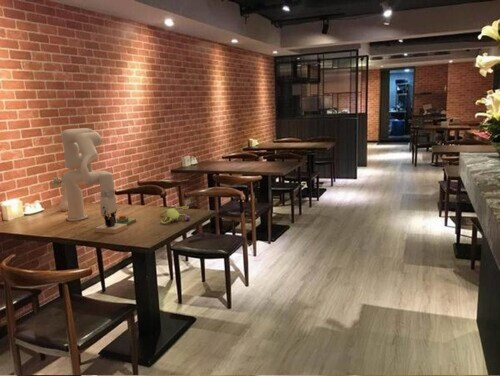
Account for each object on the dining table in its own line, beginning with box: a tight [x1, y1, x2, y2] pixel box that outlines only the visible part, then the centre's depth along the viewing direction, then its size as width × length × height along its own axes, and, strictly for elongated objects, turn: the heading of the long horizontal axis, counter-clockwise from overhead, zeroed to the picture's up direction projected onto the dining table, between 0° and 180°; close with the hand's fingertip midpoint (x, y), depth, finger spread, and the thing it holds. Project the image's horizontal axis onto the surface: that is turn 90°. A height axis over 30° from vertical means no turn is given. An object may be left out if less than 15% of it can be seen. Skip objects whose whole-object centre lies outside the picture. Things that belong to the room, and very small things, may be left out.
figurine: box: [160, 205, 191, 225], centre depth 267 cm, size 18×27×6 cm
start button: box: [118, 214, 127, 219], centre depth 259 cm, size 4×4×2 cm
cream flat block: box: [94, 223, 128, 234], centre depth 246 cm, size 14×11×3 cm
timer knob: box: [107, 215, 115, 227], centre depth 245 cm, size 4×4×5 cm
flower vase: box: [49, 175, 69, 212], centre depth 299 cm, size 13×18×25 cm
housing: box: [116, 216, 137, 227], centre depth 259 cm, size 12×10×4 cm
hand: (110, 224), depth 246 cm, fingers closed on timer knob, 4 cm apart
